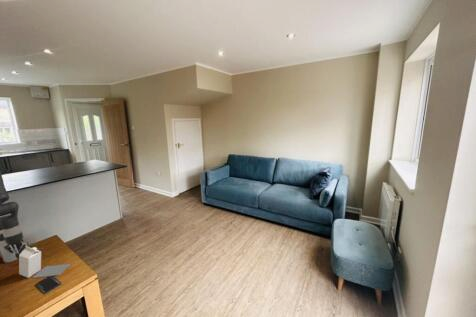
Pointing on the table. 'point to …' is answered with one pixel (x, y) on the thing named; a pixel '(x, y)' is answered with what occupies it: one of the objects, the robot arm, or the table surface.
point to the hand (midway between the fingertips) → (19, 257)
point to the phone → (48, 284)
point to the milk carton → (29, 261)
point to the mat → (51, 271)
